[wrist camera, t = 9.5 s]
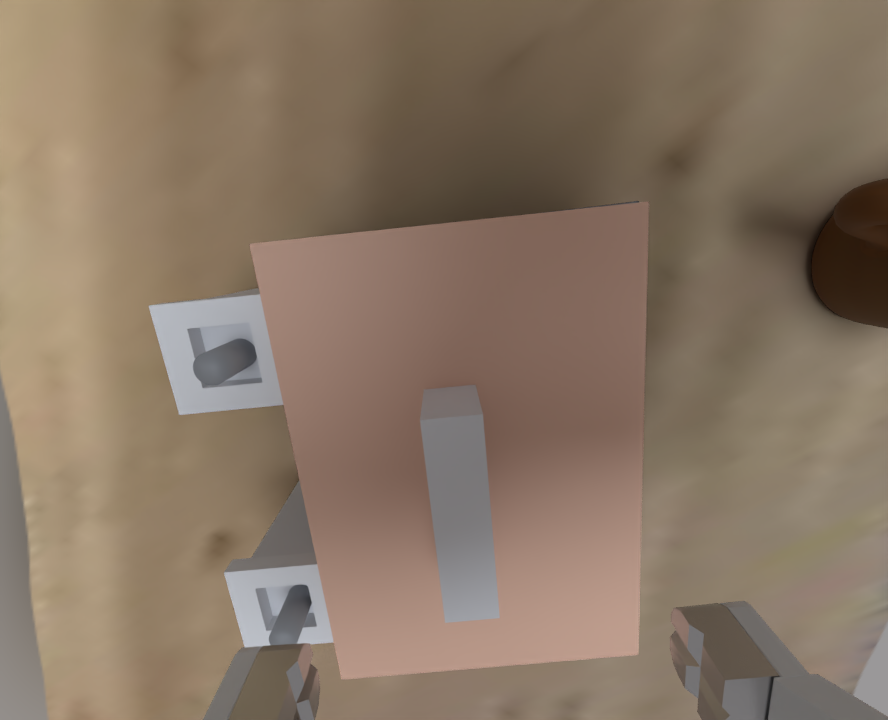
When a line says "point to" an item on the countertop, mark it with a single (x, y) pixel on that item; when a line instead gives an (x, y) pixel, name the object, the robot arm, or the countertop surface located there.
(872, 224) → the mug
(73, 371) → the countertop surface
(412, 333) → the door
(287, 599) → the cabinet
